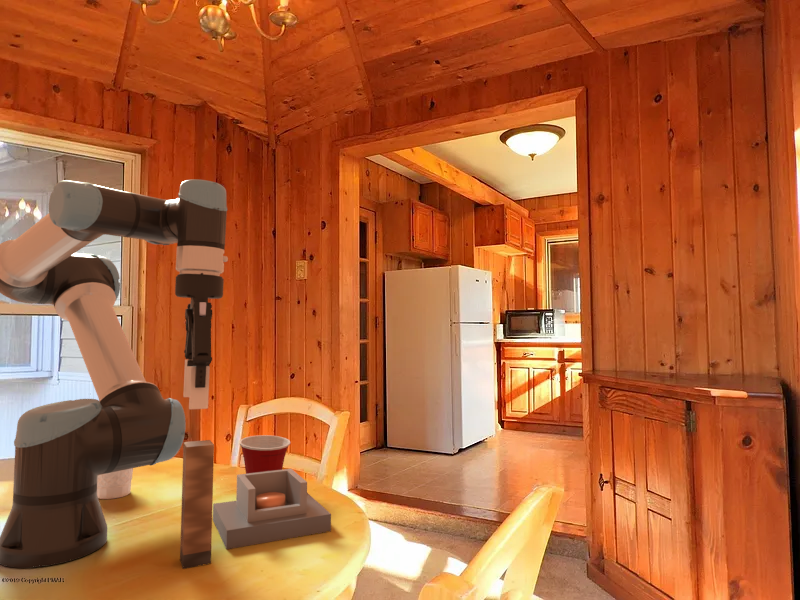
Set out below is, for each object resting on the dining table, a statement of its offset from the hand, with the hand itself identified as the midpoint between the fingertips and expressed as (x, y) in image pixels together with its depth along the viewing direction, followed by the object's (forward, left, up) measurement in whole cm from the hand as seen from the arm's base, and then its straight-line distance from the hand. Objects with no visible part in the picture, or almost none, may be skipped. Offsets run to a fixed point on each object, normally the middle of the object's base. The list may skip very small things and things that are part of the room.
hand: (194, 402), depth 89 cm
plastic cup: (+17, +23, -24) cm, 37 cm away
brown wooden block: (0, -5, -24) cm, 24 cm away
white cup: (-12, +38, -24) cm, 47 cm away
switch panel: (+14, +5, -24) cm, 28 cm away
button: (+14, +5, -20) cm, 26 cm away
